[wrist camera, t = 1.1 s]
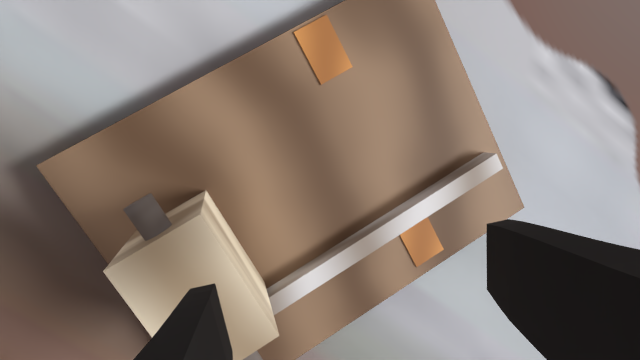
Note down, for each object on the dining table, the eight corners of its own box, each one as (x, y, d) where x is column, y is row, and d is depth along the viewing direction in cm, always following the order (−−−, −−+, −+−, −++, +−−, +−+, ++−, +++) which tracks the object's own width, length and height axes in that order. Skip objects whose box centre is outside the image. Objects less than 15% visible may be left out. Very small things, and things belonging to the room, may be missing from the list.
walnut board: (216, 394, 24) (216, 426, 22) (48, 162, 21) (24, 168, 18) (508, 202, 28) (538, 211, 25) (406, -29, 24) (428, -48, 21)
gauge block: (214, 343, 23) (212, 419, 17) (118, 205, 20) (78, 237, 15) (277, 303, 23) (297, 363, 17) (190, 165, 21) (178, 180, 15)
